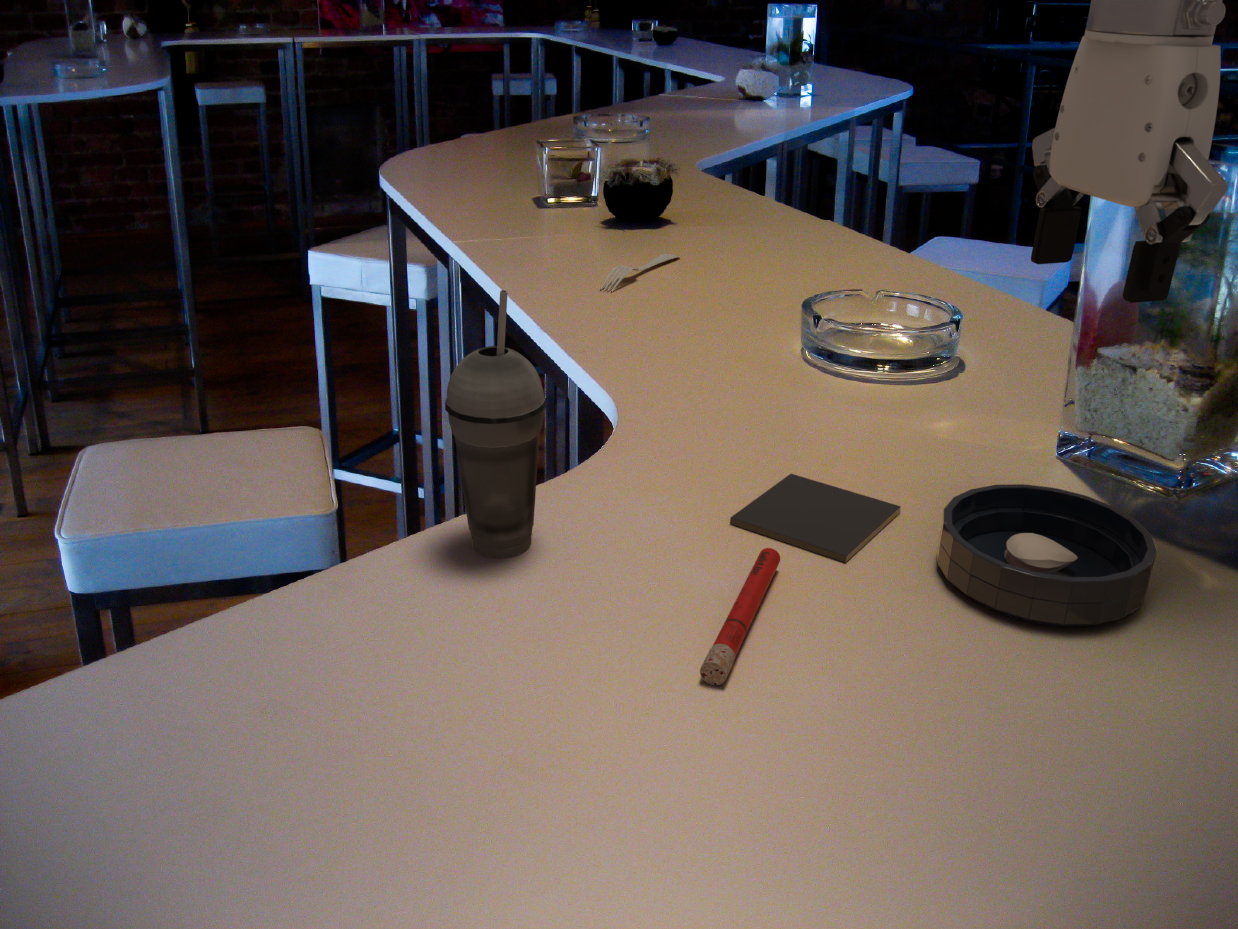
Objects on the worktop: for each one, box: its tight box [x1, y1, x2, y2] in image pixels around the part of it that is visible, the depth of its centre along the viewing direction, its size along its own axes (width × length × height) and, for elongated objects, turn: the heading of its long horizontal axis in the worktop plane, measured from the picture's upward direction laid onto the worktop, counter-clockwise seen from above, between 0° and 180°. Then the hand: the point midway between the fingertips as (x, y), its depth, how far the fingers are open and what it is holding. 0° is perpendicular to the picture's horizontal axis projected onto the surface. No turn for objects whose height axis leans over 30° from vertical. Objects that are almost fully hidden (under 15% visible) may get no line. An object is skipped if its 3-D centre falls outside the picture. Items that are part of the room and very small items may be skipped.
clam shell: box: [1005, 533, 1078, 574], centre depth 78 cm, size 4×5×2 cm
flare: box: [699, 547, 781, 686], centre depth 73 cm, size 2×15×2 cm, turn 159°
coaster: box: [729, 473, 901, 564], centre depth 87 cm, size 10×10×1 cm
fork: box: [599, 253, 681, 292], centre depth 151 cm, size 3×21×3 cm, turn 152°
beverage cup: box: [444, 289, 547, 559], centre depth 78 cm, size 7×7×20 cm
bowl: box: [936, 483, 1158, 628], centre depth 78 cm, size 14×14×4 cm
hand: (1094, 280), depth 76 cm, fingers open, 9 cm apart
